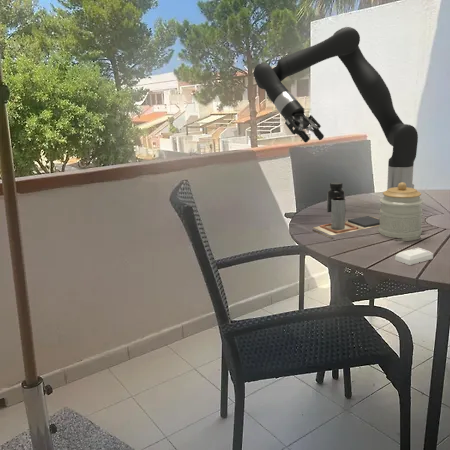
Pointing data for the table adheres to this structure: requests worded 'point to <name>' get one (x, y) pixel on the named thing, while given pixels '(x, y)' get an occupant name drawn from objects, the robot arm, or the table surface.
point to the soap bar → (414, 256)
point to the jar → (401, 213)
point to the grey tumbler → (338, 213)
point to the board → (348, 228)
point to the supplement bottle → (334, 194)
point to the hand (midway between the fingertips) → (315, 139)
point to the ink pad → (365, 221)
